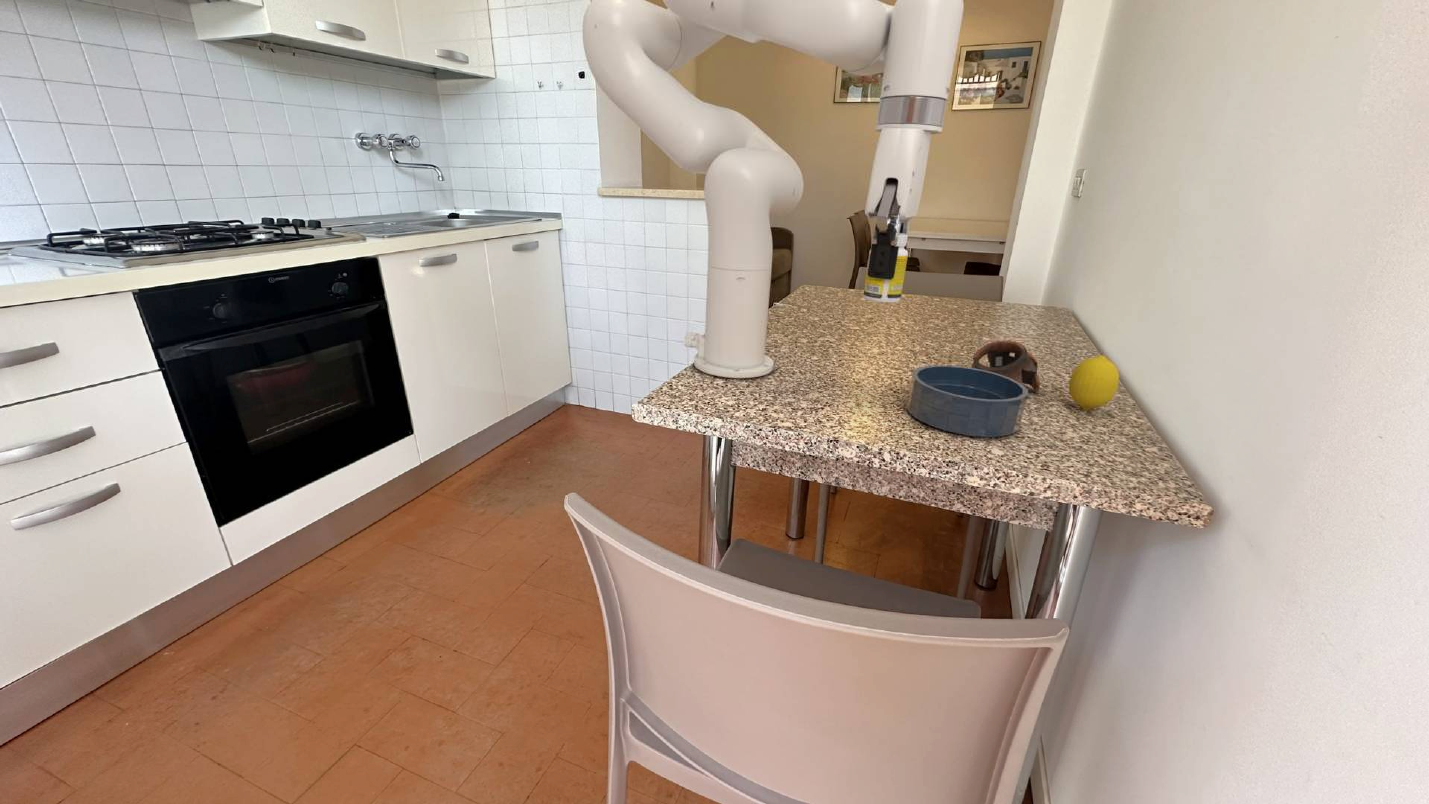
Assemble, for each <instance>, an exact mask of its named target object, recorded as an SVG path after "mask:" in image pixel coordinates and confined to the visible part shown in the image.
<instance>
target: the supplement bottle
mask: <svg viewBox="0 0 1429 804" xmlns="http://www.w3.org/2000/svg"><path fill="white" fill-rule="evenodd" d="M907 237H908V238H909V234H908V235H907V234H904V233H899V236H898V241H897V245H896V246H899V250H898V256H897V262H896V268H895V274H894V278H893V279H891V280H888V279H880V278H872V277H869V276H868V275H867V273H868V267H869V260H870V253H871V248H870V249H869V253H868V258H867V267H866V273H865V281H864V286H863V287H864V289H863V298H864V299H865V300H867V301H870V302H873V303H874V302H875V303H881V304H895V303H896V304H897V303H899V302H900V301H901V299H902V294H903V288H904V287H903V286H904V282H905V275H906V270H907V262H908V256H909V254H908V253H909V252H908V250H907V249H906V250H905V249H904V246H906V244H907V245H908V238H907Z"/></svg>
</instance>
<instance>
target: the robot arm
mask: <svg viewBox="0 0 1429 804" xmlns="http://www.w3.org/2000/svg"><path fill="white" fill-rule="evenodd" d="M662 2H663V3H664V5H665V6H666V8H664V7H662V6H659V5H657V4H655V3H652V2H651V1H647V0H591V1H590V2H589V4H588V5H587V7H586V10H585V12H584V15H583V20H582V44H583V49H584V50H583V51H584V54H585V58H586V61H587V65H588V68H589V70H590V72H591V74H592V76H593V79H594V80H595V82H596V83H597V85H598V87H599V88H600V89H601V90H602V92H603V93H604V94H605V95H606V97H608V99H609V100H610V101H611V103H613V104H614V105H615V106H616V107H617V108H618V109H619V110H620V111H621V112H622V113H623V114H624V115H625V116H626V117H628V118H629V119H630V120H631V121H632V122H633V123H634V124H635V125H636V126H637V127H638V128H639V129H640V130H641V131H642V132H643V133H644V134H645V135H646V136H647V137H648V138H649V139H650V140H651V141H652V142H653V143H654V144H655V145H656V146H657V147H658V148H659V149H660V150H662V152H663V153H664V154H665V155H666V156H667V157H668V158H670V159H671V161H673V163H674V164H675V165H676V166H677V167H679V168H680V169H682V170H683V171H687V172H690V173H693V174H702V175H703V174H704V175H705V178H704V184H703V185H704V187H703V193H704V195H703V196H704V204H705V212H706V218H707V219H706V220H707V221H706V222H707V237H708V238H707V271H706V273H707V275H706V296H705V297H706V300H705V323H704V325H705V326H704V333H703V334H699V333H697V332H691V331H687V332H686V333H685V335H684V341H683V345H684V347H687V348H695V349H696V350H697V354H695V355H694V357H693V365H694V367H695V368H696V369H697V370H698V371H700V372H702V373H705V374H708V375H711V376H714V377H715V376H716V377H720V378H727V379H751V378H758V377H763V376H766V375H769V374H771V373H772V372H773V370H774V367H775V361H774V360H773V358H771V357H770V356H769V355H767V354H766V343H767V330H768V329H767V327H768V318H769V317H768V316H769V306H770V305H769V304H770V293H771V282H772V281H771V280H772V269H773V250H774V249H773V248H774V245H773V234H772V230H771V229H772V228H771V223H770V220H771V219H773V220H774V219H778V218H782V217H784V216H787V215H789V214H790V213H792V212H793V211H794V210H795V209H797V206H799V203H800V202H801V200H802V197H803V194H804V193H803V192H804V178H803V177H804V176H803V174H802V170H801V169H800V167H799V166H798V164H797V162H796V161H795V159H793V157H791V155H790V154H788V152H786V151H785V150H784V149H783V148H782V147H781V146H779V144H777V142H775V141H774V140H773V139H772V138H771V137H770V136H768V134H766V133H765V132H764V131H763V130H762V129H761V128H760V127H758V126H757V125H756V124H755V123H754V122H753V121H752V120H750V119H749V118H747V117H746V116H745V115H743V114H742V113H740V112H739V111H736V110H734V109H731V108H727V107H724V106H721V105H720V106H718V105H717V104H716V105H715V104H711V103H709V102H705V101H703V100H701V99H699V98H697V97H696V96H695V95H693V94H692V93H691V92H690V91H689V90H688V89H687V88H685V87H684V86H683V85H682V84H681V83H680V82H679V81H678V80H677V79H676V78H675V77H674V76H672V75H671V74H670V73H671V72H674V71H676V70H679V69H680V68H682V67H684V66H686V65H687V64H688V63H690V62H691V61H693V60H694V59H695V58H698V56H699V55H701V54H702V53H704V52H705V51H707V50H708V49H710V48H712V46H714V45H716V44H717V43H718V42H719V41H721V40H722V39H723V38H725V37H726V36H727V35H729V36H731V37H735V38H737V39H740V40H742V41H745V42H748V43H750V44H751V43H752V44H758V43H759V42H762V41H767V42H771V43H774V44H776V45H781V46H783V47H786V48H789V49H792V50H795V51H798V52H801V53H803V54H806V55H809V56H812V57H814V58H816V59H819V60H822V61H824V62H826V63H828V64H830V65H833V66H836V67H837V68H838V69H840V70H842V71H844V72H846V73H849V74H851V75H854V76H859V77H866V76H868V77H869V76H873V75H878V74H882V80H881V81H882V82H881V88H880V96H879V102H878V108H877V117H876V124H875V129H874V130H875V132H878V133H880V134H879V136H878V141H877V145H876V148H875V153H874V159H873V163H872V169H871V175H870V178H869V179H870V180H869V185H868V191H867V196H866V202H865V207H864V214H865V216H866V217H867V218H869V219H875V218H876V222H875V227H874V232H873V236H872V243H871V248H870V249H871V253H870V260H869V267H868V273H867V275H868V276H869V277H872V278H880V279H888V280H891V279H893V278H894V274H895V268H896V262H897V256H898V250H899V246H896V245H897V241H898V236H899V233H904V234H907V235H908V237H907V239H908V238H909V229H910V224H911V223H910V222H911V219H913V218H914V217H916V216H917V214H918V211H919V208H920V204H921V199H922V194H923V190H924V189H923V188H924V183H925V177H926V173H927V172H926V171H927V165H928V159H929V153H930V146H931V138H932V135H939V134H942V132H943V126H944V122H945V121H944V120H945V114H946V111H947V105H948V98H949V93H950V87H951V82H952V77H953V71H954V67H955V60H956V55H957V49H958V44H959V39H960V33H961V27H962V21H963V15H964V9H965V7H964V0H896V1H895V3H894V5H890V4H887V3H884V2H882V1H880V0H662ZM907 248H908V243H907V244H906V246H904V249H905V250H906V251H907Z"/></svg>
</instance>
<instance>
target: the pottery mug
mask: <svg viewBox="0 0 1429 804" xmlns="http://www.w3.org/2000/svg"><path fill="white" fill-rule="evenodd" d="M1011 354H1014V356H1013V355H1011ZM985 356H986V357H987V361H988V362H987V363H989V366H987V365H983V364H982V363H980V360H981V359H982V358H983V357H985ZM972 360H973V362H972V364H971V368H975V369H981V370H985V371H989V372H993V373H997V374H1000V375H1003V376H1005V377H1008V378H1011V379H1013V380H1015V381H1017V382H1019V383H1021V384H1022V385H1027V386H1030V387H1032V389H1033V390H1034V394H1035V395H1039V390H1040V386H1041V381H1040V378H1039V376H1038V373H1037V372H1038V368H1039V367H1038V365H1039V364H1038V361H1037V358H1036V357H1035V356H1034V355H1033V354H1032V353H1031V352H1029V351H1028V349H1027V348H1026V347H1025V345H1024V344H1022V343H1020V342H1017V341H1014V340H1006V339H1005V340H996V341H993V342H990V343H987V344H985V345H983V346H982V347H980V348H979V349H978V350H977V351H975V353H974V354H973V356H972Z"/></svg>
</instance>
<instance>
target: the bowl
mask: <svg viewBox="0 0 1429 804" xmlns="http://www.w3.org/2000/svg"><path fill="white" fill-rule="evenodd" d="M1028 396H1029V389H1027V387H1026V386H1025V385H1024V384H1023V383H1022V384H1021V383H1019V382H1017V381H1015V380H1013V379H1011V378H1008V377H1005V376H1003V375H1000V374H997V373H993V372H989V371H985V370H981V369H975V368H972V367H969V366H960V365H950V364H949V365H948V364H942V365H941V364H940V365H939V364H935V365H926V366H922V367H919V368H916V369H914V370H913V372H912V374H911V379H910V385H909V391H908V395H907V400H906V401H907V402H906V409H907V412H908V413H909V414H910V415H912V416H913V417H914V418H915V419H916V420H918V421H921V422H922V423H924V424H926V425H928V426H931V427H933V428H937V429H940V430H942V431H946V432H949V433H953V434H957V435H963V436H970V437H980V438H981V437H982V438H991V437H992V438H993V437H995V438H996V437H998V438H999V437H1004V436H1009V435H1013V434H1015V432H1017V431H1018V430H1020V426H1021V423H1022V419H1023V414H1024V411H1025V407H1026V403H1027V400H1028Z"/></svg>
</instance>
